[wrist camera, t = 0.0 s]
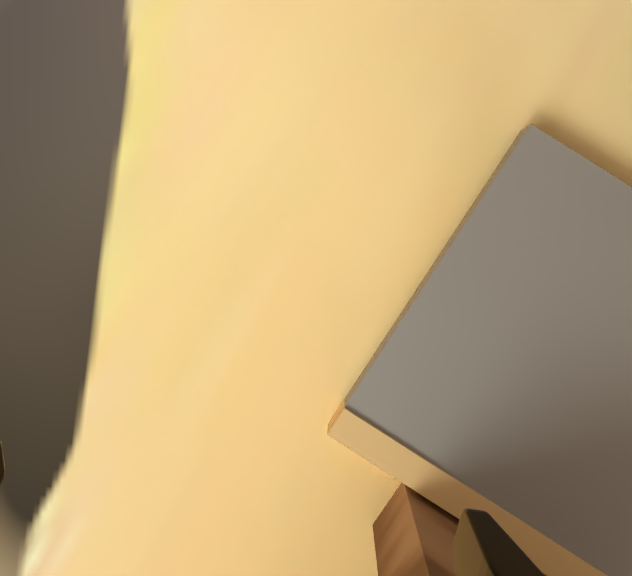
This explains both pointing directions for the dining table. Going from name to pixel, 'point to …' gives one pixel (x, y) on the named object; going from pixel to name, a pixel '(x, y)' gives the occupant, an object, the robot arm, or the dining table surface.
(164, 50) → the dining table surface
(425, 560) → the walnut plank
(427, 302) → the slate floor board
